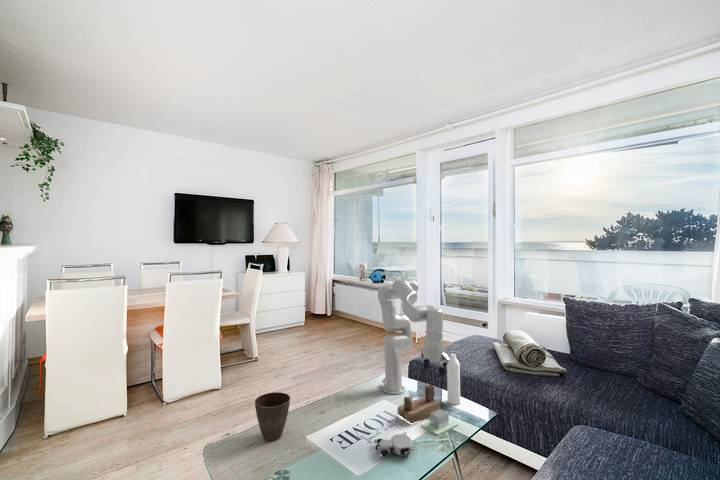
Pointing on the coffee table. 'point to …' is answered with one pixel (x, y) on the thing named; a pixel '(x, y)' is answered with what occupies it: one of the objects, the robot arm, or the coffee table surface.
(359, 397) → the coffee table surface
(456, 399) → the water bottle
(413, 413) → the plane body
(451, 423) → the mat
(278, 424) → the plant pot
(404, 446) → the toy panda
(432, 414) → the grey rectangular block
